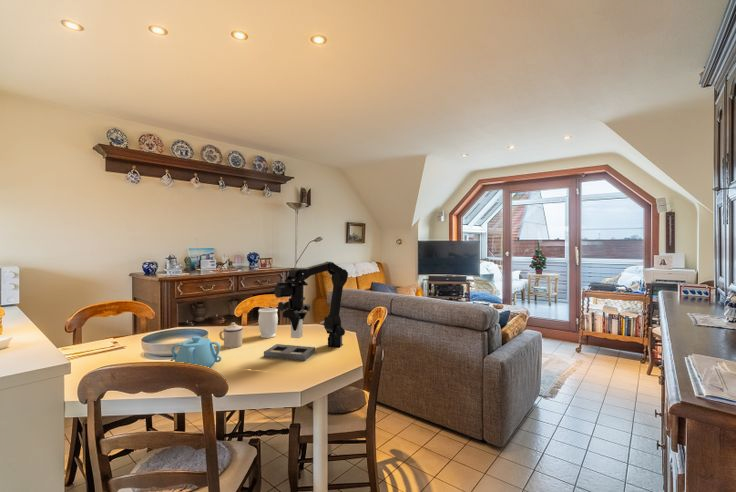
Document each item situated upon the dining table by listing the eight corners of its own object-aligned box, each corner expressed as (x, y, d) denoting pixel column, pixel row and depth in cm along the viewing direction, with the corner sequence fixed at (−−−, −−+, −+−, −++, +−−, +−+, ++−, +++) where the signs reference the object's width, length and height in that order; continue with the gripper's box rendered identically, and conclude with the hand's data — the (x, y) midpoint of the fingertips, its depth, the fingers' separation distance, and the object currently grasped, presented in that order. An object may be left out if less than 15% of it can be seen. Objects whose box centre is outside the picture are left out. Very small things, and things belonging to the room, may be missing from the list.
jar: (274, 339, 186) (274, 311, 186) (255, 338, 186) (255, 311, 186) (279, 333, 197) (280, 307, 196) (262, 333, 197) (262, 307, 197)
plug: (302, 336, 160) (302, 319, 160) (299, 338, 156) (299, 320, 156) (293, 335, 161) (293, 318, 161) (289, 337, 157) (289, 320, 157)
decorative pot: (224, 369, 142) (225, 336, 142) (183, 380, 130) (184, 345, 130) (206, 360, 153) (207, 329, 153) (167, 370, 141) (167, 337, 140)
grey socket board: (315, 353, 163) (315, 347, 163) (305, 362, 151) (305, 355, 151) (276, 350, 167) (276, 343, 167) (263, 358, 156) (263, 351, 156)
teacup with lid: (245, 343, 177) (246, 321, 177) (236, 349, 168) (236, 325, 168) (224, 342, 179) (224, 320, 179) (214, 347, 170) (214, 324, 170)
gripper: (289, 292, 169) (289, 323, 169) (271, 297, 151) (271, 333, 151) (310, 293, 167) (310, 325, 167) (295, 299, 148) (294, 335, 149)
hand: (296, 329), depth 158 cm, fingers closed on plug, 4 cm apart
